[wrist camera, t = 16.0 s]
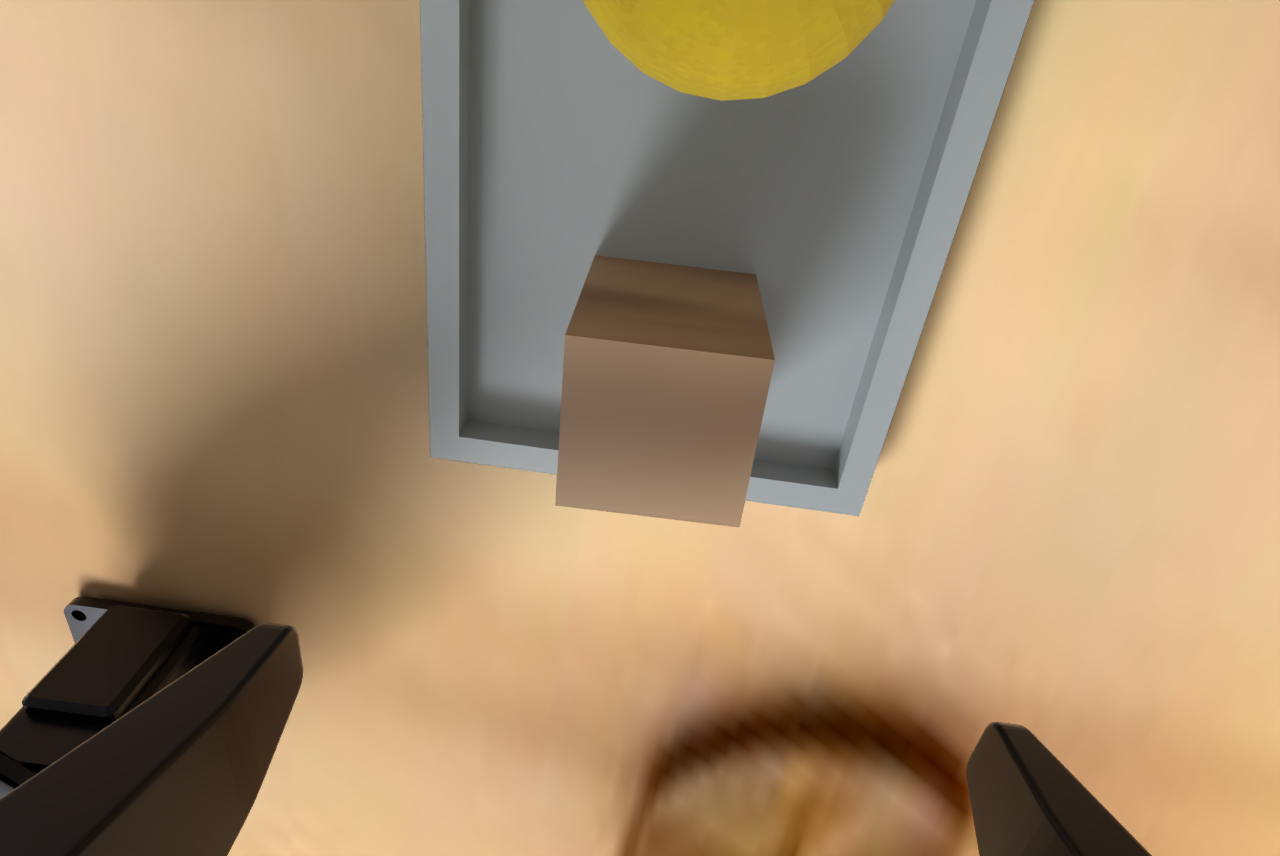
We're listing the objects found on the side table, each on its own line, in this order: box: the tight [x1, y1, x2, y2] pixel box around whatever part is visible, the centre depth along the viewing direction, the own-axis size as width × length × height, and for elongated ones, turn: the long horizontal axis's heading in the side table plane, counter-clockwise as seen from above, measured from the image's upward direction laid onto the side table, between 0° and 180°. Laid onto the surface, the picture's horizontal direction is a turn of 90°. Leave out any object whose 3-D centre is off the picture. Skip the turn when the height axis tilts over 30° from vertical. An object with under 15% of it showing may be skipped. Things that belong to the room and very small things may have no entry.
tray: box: [420, 0, 1034, 516], centre depth 17 cm, size 18×12×2 cm, turn 174°
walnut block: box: [555, 255, 775, 527], centre depth 17 cm, size 4×4×5 cm
